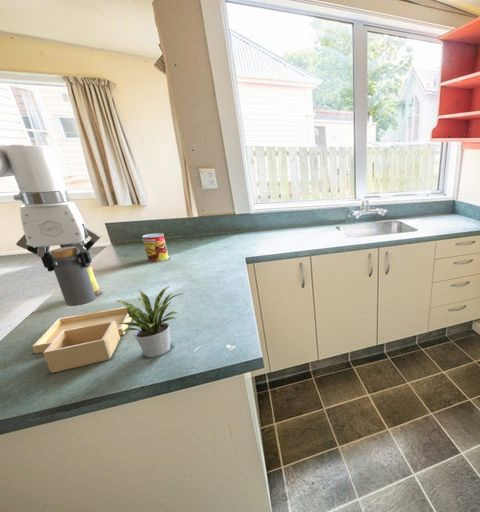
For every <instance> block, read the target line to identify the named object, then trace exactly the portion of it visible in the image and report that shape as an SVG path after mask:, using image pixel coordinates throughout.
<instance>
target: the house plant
mask: <svg viewBox="0 0 480 512" xmlns="http://www.w3.org/2000/svg"><path fill="white" fill-rule="evenodd" d="M169 288H170V285H168V286H167V287H164V288H163V289H161V290H160V291H159V293H158V295H157V296H156V298H155V300H154V307H153V308H152V305H151V301H150V299H149V297H148V295H147V294H145V293H144V292H143V291H141V290H138V292H139V294H140V295H138V296H136V295H134V294H131V293H129V295H131V296H132V297H133V298H136V299H137V300H138V301H139V302H140V303H141V305H142V306H143V308H144V310H145V312H143V311H142V310H141V308H140V307H137V306H135V305H133V304H132V303H129V302H126V301H124V300H119V299H118V300H116V302H118V303H120V304H122V305H124V307H127V313H128V315H129V317H131V318H132V319H131V320H133V321H134V322H131V321H130V322H124V323H118V324H126V325H129V326H130V327H128V328H127V329H125V330H123V331H122V332H124V331H126V332H130V331H135V332H134V333H133V334H134V338H135V339H136V341H137V343H138V345H139V346H140V348H141V350H142V352H143V354H144V356H145V357H147V358H155V357H160V356H162V355H164V354H166V353H167V352H169V351H170V350H171V325H170V323H168V322H167V321H170V320H175V319H176V320H177V318H176V317H174V316H173V315H177V316H179V314H178V312H176V311H170V312H168V313H166V314H165V315H164V313H165V312H166V309H167V308H168V306H169V305H171V304H172V301H171V300H172V299H173V298H175V297H178V296H180V295H184V294H185V293H184V292H183V293H177V294H174V292H172V293H169V294H168V295H167V296H165V298H164V300H162V301H161V299H162V298H163V296H164V294H165V292H166V290H167V289H169ZM171 295H172V296H171ZM160 301H161V302H160ZM169 301H170V302H169ZM111 313H114V312H111ZM118 313H121V312H118ZM124 314H125V313H124ZM163 316H164V317H163ZM135 327H138V328H135ZM122 332H121V333H122Z"/></svg>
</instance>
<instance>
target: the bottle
mask: <svg viewBox="0 0 480 512" xmlns="http://www.w3.org/2000/svg"><path fill="white" fill-rule="evenodd" d="M50 253H52V254H53V256H54V257H53V258H52V260H53V262H56V266H55V267H54V270H53V272H54V274H55V277H56V281H57V283H58V285H59V288H60V291H61V294H62V297H63V300H64V302H65V305H66V306H67V307H77V306H82V305H86V304H89V303H92V302H95V300H97V296H95V293H94V290H93V286H92V283H91V280H90V277H89V274H88V271H87V268H86V267H83V266H82V263H81V261H79V258H80V257H79V253H77V247H64V248H61V247H59V248H58V247H57V248H54V249H51V250H50Z"/></svg>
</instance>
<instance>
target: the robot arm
mask: <svg viewBox="0 0 480 512" xmlns="http://www.w3.org/2000/svg"><path fill="white" fill-rule="evenodd" d="M5 177H14V179H15V181H16V185H17V187H18V190H19V193H18V194H13V197H12V198H13V200H14V201H15V202H16V201H19V202H22V204H23V205H20V206H19V213H20V220H21V226H22V229H23V235H22V236H21V237H20V239H18V241H17V242H16V243H15V246H17V247H19V248H21V249H24V250H27V251H28V252H30V253H31V254H32V253H33V254H34V255H36V256H37V257H39V258H41V262H42V264H43V267H44V268H45V269H47V271H48V272H54V267H55V266H56V265H57V262H53V260H52V258H53V257H54V256H53V254H52V253H51V251H50V248H51V247H52V246H60V245H65V244H74V245H75V246H76V247H77V248H78V249H79V251H80V253H79V257H80V260H81V263H82V266H83V267H88V266H89V265H90V266H91V263H92V262H93V261H92V257H91V253H90V250H91V248H92V247H93V246H95V244H96V243H97V242H98V241H99V240H100V239H101V238H102V235H101V234H99V233H97V232H95V231H94V230H92V229H90V228H88V227H87V226H86V224H85V221H84V218H83V217H82V215H81V213H80V211H79V209H78V207H77V206H76V204H75V202H71V201H70V197H69V194H68V192H67V189H66V184H65V182H64V178H63V176H62V173H61V169H60V167H59V163H58V159H57V156H56V154H55V152H54V150H53V149H52V147H49V146H46V145H39V144H10V145H5V144H4V145H3V144H0V178H5ZM88 238H90V239H89V240H88V241H87V242H86V241H85V240H87V239H88Z"/></svg>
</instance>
